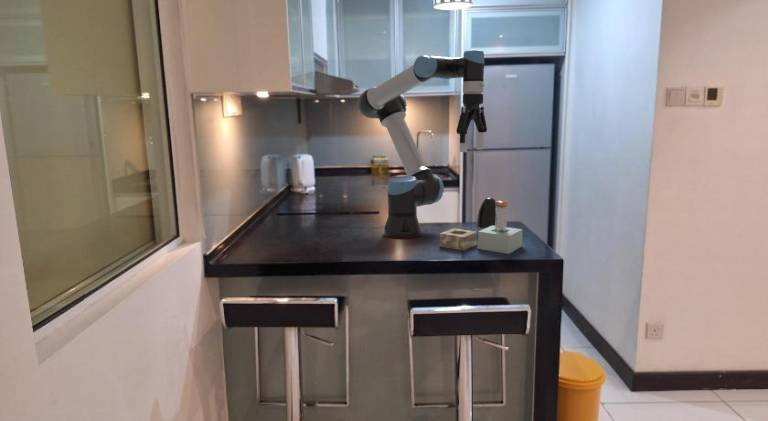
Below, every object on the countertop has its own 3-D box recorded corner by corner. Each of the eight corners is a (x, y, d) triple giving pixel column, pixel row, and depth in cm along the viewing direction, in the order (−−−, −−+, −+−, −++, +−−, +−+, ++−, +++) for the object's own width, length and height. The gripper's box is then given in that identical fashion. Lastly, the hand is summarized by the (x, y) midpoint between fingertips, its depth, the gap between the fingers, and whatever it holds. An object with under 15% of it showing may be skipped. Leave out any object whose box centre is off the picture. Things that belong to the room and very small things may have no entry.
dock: (477, 248, 189) (478, 231, 188) (492, 241, 199) (492, 225, 198) (508, 253, 182) (509, 236, 181) (521, 246, 192) (522, 229, 191)
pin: (491, 247, 190) (493, 202, 187) (496, 245, 194) (498, 200, 190) (503, 249, 188) (504, 203, 184) (507, 247, 191) (509, 201, 188)
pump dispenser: (502, 238, 204) (503, 200, 201) (475, 236, 206) (476, 199, 203) (501, 231, 214) (503, 195, 211) (476, 230, 216) (477, 195, 213)
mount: (440, 246, 193) (440, 233, 192) (453, 240, 201) (453, 228, 200) (464, 250, 187) (464, 237, 186) (476, 244, 195) (476, 231, 194)
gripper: (466, 92, 180) (465, 153, 184) (496, 93, 200) (494, 148, 204) (447, 93, 185) (446, 152, 189) (479, 94, 204) (477, 147, 208)
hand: (471, 150), depth 196 cm, fingers open, 13 cm apart
